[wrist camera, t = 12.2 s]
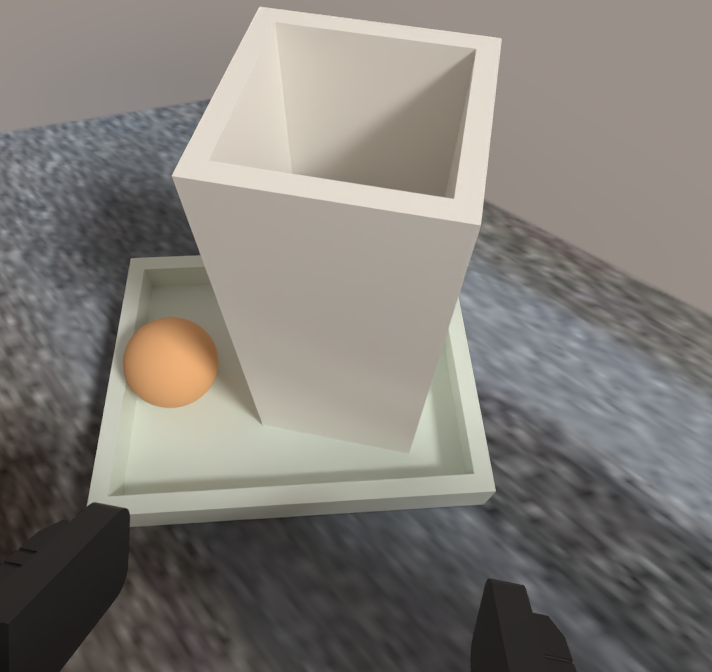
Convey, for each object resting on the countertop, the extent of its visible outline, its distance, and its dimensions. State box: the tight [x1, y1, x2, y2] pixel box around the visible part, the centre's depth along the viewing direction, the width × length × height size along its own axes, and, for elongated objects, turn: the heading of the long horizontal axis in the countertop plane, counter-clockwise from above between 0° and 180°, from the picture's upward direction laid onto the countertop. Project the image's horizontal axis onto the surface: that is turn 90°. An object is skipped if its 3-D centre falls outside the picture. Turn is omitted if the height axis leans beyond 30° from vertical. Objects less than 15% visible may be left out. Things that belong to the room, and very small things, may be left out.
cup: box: [172, 7, 501, 454], centre depth 16 cm, size 5×5×12 cm
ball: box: [123, 317, 218, 408], centre depth 19 cm, size 3×3×3 cm
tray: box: [87, 255, 496, 527], centre depth 21 cm, size 13×10×2 cm
